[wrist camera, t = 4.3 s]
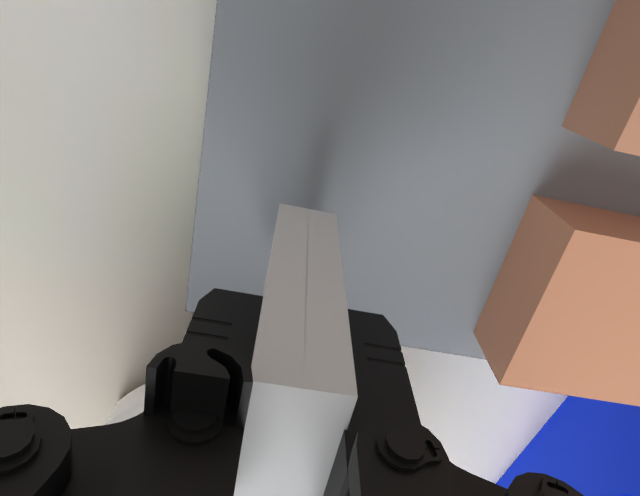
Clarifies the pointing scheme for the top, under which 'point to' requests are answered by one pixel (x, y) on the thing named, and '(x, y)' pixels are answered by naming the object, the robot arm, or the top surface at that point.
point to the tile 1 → (567, 304)
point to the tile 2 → (612, 85)
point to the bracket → (586, 448)
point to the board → (397, 145)
